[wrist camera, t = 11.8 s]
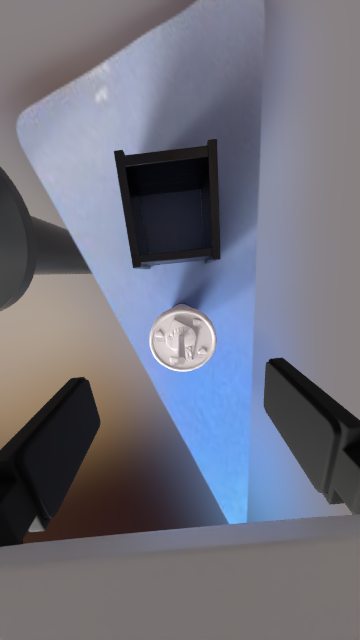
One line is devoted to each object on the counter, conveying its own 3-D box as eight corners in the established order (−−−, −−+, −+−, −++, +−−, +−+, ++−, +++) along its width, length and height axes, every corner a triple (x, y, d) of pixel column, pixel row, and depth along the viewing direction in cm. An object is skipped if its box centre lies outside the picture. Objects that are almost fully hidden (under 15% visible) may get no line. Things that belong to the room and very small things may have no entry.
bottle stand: (144, 269, 23) (133, 268, 17) (132, 185, 20) (113, 150, 15) (210, 262, 23) (220, 259, 17) (206, 176, 20) (217, 138, 14)
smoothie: (195, 288, 24) (217, 309, 10) (208, 328, 25) (241, 392, 12) (153, 302, 24) (121, 340, 11) (168, 341, 26) (157, 416, 12)
